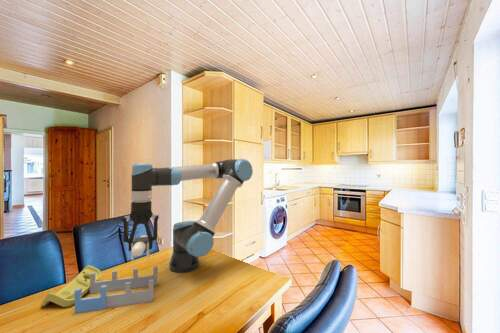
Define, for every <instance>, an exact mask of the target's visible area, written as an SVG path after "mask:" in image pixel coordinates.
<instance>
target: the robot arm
mask: <svg viewBox="0 0 500 333" xmlns="http://www.w3.org/2000/svg"><path fill="white" fill-rule="evenodd" d="M131 167H132V168H131V174H130V176H131V189H130V190H131V191H130V192H131V194H130V195H131V196H130V200H131V203H130V213H129V215H126V216H123V217H122V218H121V220H122V222H123V236H122V238H123V239H122V240H123V243H127V245H128V252H130V253H131V254H130V259H131V261H134V260H135V259H136V258H135V257H136V256H134V255H133V254H132V252H131V250H132V247H133V241H134V239H135V238H134V237H135V235H136V232H137V227H138V226H139V225H140V224H141V225H143V226H144V228H145V233H146V236H148V241H147V252H146V259H147V260H148V259H149V258H150V255H151V254H150V253H151V252H150V251H151V250H152V249H153V247H154V246H153V241H157V239H158V226H159V224H158V220H159V218H160V214H153V212H152V203H153V202H152V197H153V196H152V195H153V194H152V193H153V187H157V186H159V187H161V186H163V187H164V186H171V187H172V186H178V185H180V183H181V182H182V181H191V180H201V179H210V178H212V179H214V180H215V179H222V182H221V183H220V185H219V186H218V187H217V189H216V192H215V193H214V195H213V196H212V198H211V199H210V201H209V203H208V204H207V206H206V208H205V209H204V211H203V213H202V214H201V217H200V218H199V219H198V220H195V221H194V220H186V221H180V222H179V221H178V222H176V223H174V224H173V228H172V254H171V257H170V260H169V263H168V264H169V265H168V268H169V271H171V272H173V273H187V272H191V271H194V270H196V269H197V268H198V267H200V258H201V257H204V256H206V255H208V254H209V253H210V252H211V250H212V249H213V247H214V244H215V242H214V236H215V235H216V230H215V229H216V228H215V227H216V226H217V224H218V223H219V222H220V219H221V217H222V215H223V214H224V212H225V210H226V208H227V207H228V205H229V204H230V201H231V199H232V197H233V196H234V194H235V192H236V191H237V189H238V188H242V186H243V184H244V183H245V182H247V181H249V180H250V179H251V178H252V176H253V174H254V173H253V171H254V170H253V165H252V163H251V162H250V161H249V160H248V159H245V158H238V159H237V158H235V159H233V158H231V159H224V160H220V161H213V162H211V163H209V164H196V165H181V166H170V167H153V164H152V163H146V162H145V163H143V162H142V163H138V162H137V163H134V164H132V166H131ZM151 218H152V221H153V234H152V230H151V226H150V222H149V221H150V219H151ZM130 219H131V220H130ZM130 221H132V222H133V225H132V228H131V231H130V235H129V226H130V225H129V222H130Z"/></svg>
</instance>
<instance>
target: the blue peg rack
mask: <svg viewBox="0 0 500 333" xmlns="http://www.w3.org/2000/svg"><path fill="white" fill-rule="evenodd" d="M158 267H159V266H158V265H156V266H153V268H152V269H153V270H152V271H153V273H152V274H150V275H142V276H139V267H135V268H133V269H132V273H133V274H132V276H131V277H124V278H123V277H122V278H118V270H112V271H111V279H107V280H106V279H105V280H98V281H96V282H95V273H91V274H90V290H89V294H90V295H91V294H92V295H93V294H99V293H100V295H96V296H88V297H83V296H82V288H78V289H76V290H75V303H74V308H73V310H74V314H79V313H85V312H86V313H87V312H93V311H99V310H106V309H109V308H116V307H123V306H129V305H136V304H137V305H138V304H144V303H151V302H153V301H154V286H158V275H159V274H158V273H159V272H158V271H159V270H158V269H159V268H158ZM146 287H148V289H141V290H135V291H132V289H137V288H138V289H139V288H146ZM123 290H125V291H124V292H121V293H120V292H119V293H118V292H117V293H112V294H111V293H110V294H108V292H115V291H123Z"/></svg>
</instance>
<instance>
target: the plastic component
mask: <svg viewBox="0 0 500 333" xmlns="http://www.w3.org/2000/svg"><path fill="white" fill-rule="evenodd" d="M91 273H95V282H96V281H99V280H100V279H101V276H102V272H101V270H100V269H99V268H97V267H94V266H92V265H86V266H85V267H84V268H83V269H82V270H81V271H80V272H79V273H78V274H77V275H76V276H75V278H73V279H72V280H71V281H70V282H69V283H67V284H66V285H65V286H63V287H62V288H61V289H59V290H58V291H57V292H52V291H51V292H49V293H47V294H46V295H45V297H44V299H43V300H42V302H41V303H40V306H41V307H46V306H48V305H49V304H50V303H51V302H52V303H54V304H56V305H58V306H61V307H62V308H63V307H64V308H69V307H71V306H73V305H75V290H76V289H78V288H82V297H84V295H86V294H87V293H88V292H90V274H91Z"/></svg>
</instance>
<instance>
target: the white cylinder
mask: <svg viewBox="0 0 500 333" xmlns="http://www.w3.org/2000/svg"><path fill="white" fill-rule="evenodd" d="M147 241H148V236H147V234H146V235H144V234H143V235H140V236H138V237H135V238H134V239H133V247H132V250H131V251H130V253H131V252H132V254H133V255H134V256H135V257H139V256H141V255H143V254H147Z"/></svg>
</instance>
